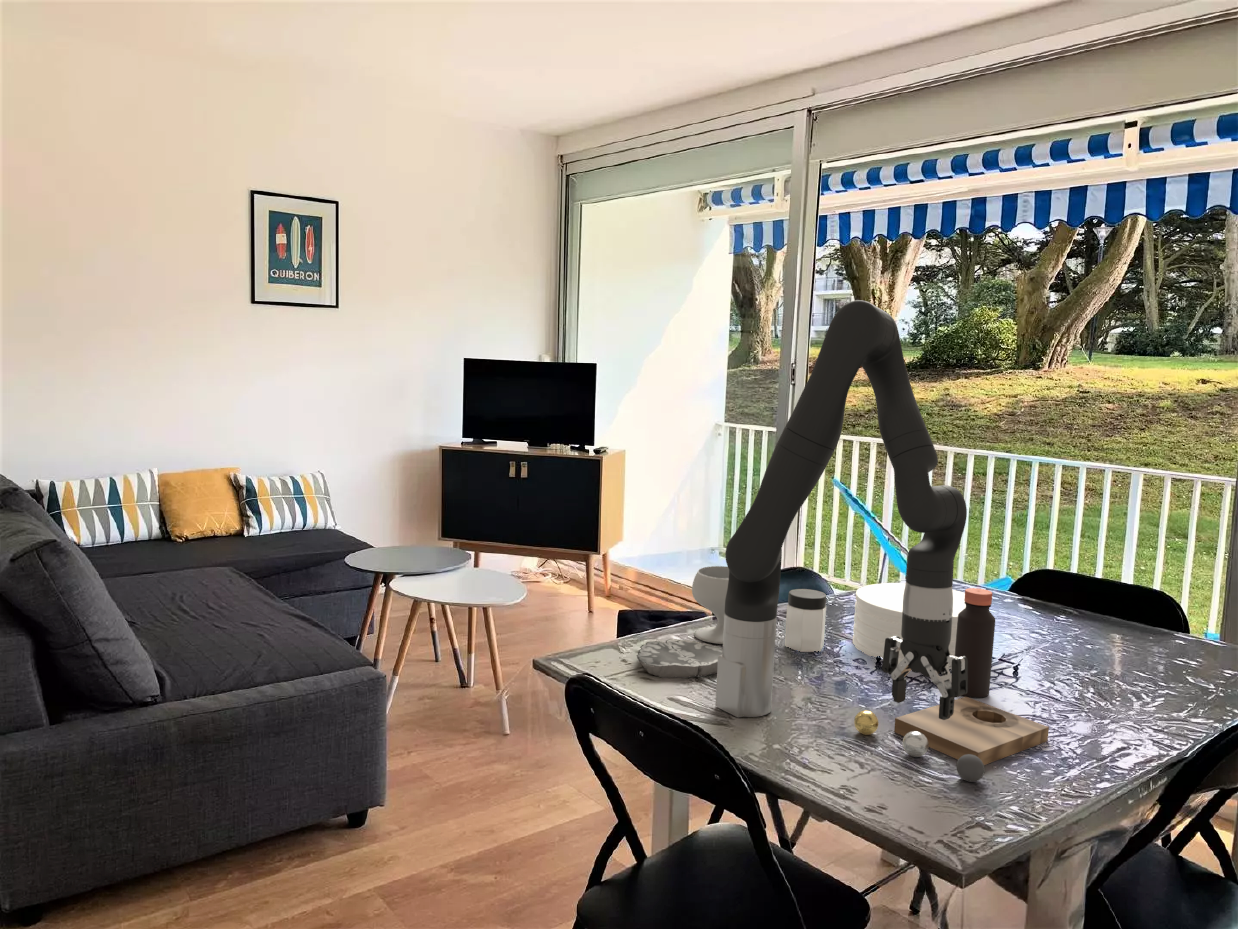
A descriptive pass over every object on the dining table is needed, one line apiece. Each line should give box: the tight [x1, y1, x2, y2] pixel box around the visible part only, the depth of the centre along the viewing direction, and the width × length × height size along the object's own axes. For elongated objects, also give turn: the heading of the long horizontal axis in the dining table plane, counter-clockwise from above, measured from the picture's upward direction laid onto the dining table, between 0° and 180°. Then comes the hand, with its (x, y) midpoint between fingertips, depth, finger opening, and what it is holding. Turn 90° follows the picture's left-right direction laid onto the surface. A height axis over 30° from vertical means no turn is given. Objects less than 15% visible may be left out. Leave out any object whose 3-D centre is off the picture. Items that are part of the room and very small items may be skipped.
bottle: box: [955, 587, 996, 699], centre depth 178 cm, size 7×7×20 cm
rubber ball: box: [956, 754, 985, 783], centre depth 140 cm, size 4×4×4 cm
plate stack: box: [852, 582, 966, 669], centre depth 205 cm, size 28×28×12 cm
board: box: [893, 696, 1050, 766], centre depth 157 cm, size 20×16×2 cm
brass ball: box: [853, 709, 879, 736], centre depth 157 cm, size 4×4×4 cm
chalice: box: [691, 565, 729, 645], centre depth 207 cm, size 14×14×15 cm
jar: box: [784, 588, 827, 653], centre depth 203 cm, size 9×8×12 cm
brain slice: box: [636, 638, 723, 679], centre depth 188 cm, size 20×17×3 cm
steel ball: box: [902, 731, 930, 758], centre depth 148 cm, size 4×4×4 cm
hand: (921, 709), depth 148 cm, fingers open, 8 cm apart
